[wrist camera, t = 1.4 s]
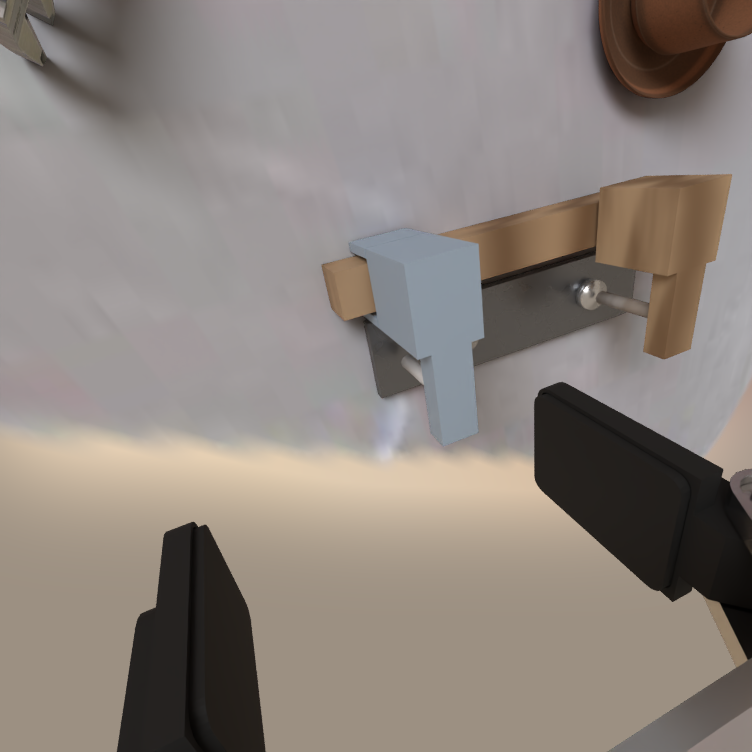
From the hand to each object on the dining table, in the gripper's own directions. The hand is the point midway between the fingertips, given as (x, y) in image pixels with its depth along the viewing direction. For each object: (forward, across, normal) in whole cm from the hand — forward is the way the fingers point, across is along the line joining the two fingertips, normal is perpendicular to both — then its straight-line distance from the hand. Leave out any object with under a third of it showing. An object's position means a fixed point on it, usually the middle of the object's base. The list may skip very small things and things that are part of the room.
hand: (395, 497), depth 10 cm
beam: (+20, -16, +3) cm, 26 cm away
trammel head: (+20, -8, +3) cm, 21 cm away
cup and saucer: (+20, -30, -13) cm, 38 cm away
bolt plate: (+20, -18, +6) cm, 27 cm away
